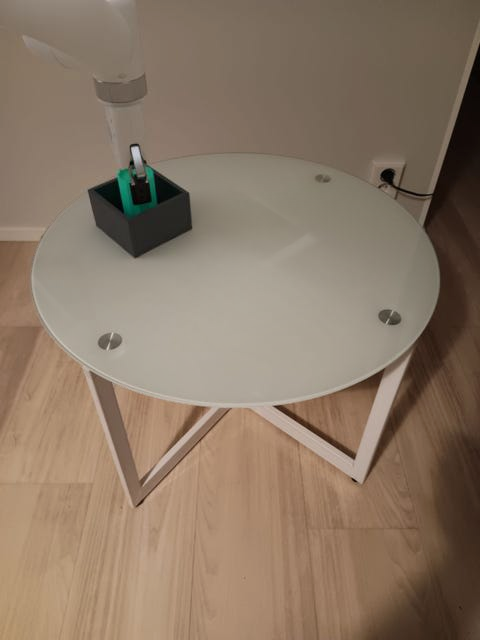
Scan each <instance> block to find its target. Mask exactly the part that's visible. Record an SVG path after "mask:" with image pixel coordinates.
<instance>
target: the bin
mask: <svg viewBox="0 0 480 640" xmlns="http://www.w3.org/2000/svg"><path fill="white" fill-rule="evenodd" d="M145 166H146V165H145ZM147 167H149V168H151V170H152V171H153V175H154V182H155V190H156V197H157V205H156V206H154V207H151V208H149V209H147V210H145V211H143V212H141V213H139V214H136V215H134V216H132V217H130V218H129V217H127V216H126V215H125V214H124V209H123V204H122V198H121V193H120V188H119V183H118V178H117V176H116V177H114V178H112V179H110V180H107V181H104V182H102V183H99V184H97V185H95V186H93V187H90V188H88V189H87V195H88V198H89V203H90V206H91V210H92V211H91V212H92V214H93V218H94V222H95V223H94V224H95V226H96V227H97V228H98V229H99V230H101V231H102V232H103V233H104V234H105V235H107V237H109V238H110V239H111V240H112V241H114V242H115V243H116V244H117V245H118V246H119V247H120V248H121V249H123V250H124V251H125V252H127V254H129V255H130V256H131V257H133V259H136V258H138V257H140V256H143V255H144V254H147V253H148V252H149V251H151V250H154V249H156V248H158V247H160V246H161V245H163V244H165V243H168V242H170V241H171V240H173V239H176V238H177V237H180V236H181V235H183V234H185V233H186V232H189V231H190V230H192V229H193V221H192V208H191V196H190V192H189V191H187V190H186V189H184V188H183V187H182V186H180V185H178V184H177V183H176V182H174V181H173V180H172V179H170V178H168V177H166V176H165V175H164V174H162V173H161V172H160V171H157V170H156V169H155V168H153V167H151V166H150V165H149V164H148V165H147Z"/></svg>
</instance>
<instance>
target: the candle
mask: <svg viewBox="0 0 480 640" xmlns="http://www.w3.org/2000/svg"><path fill="white" fill-rule="evenodd" d="M151 168H152V167H151ZM151 168H149V167H147V166H146V171H147V176H148V180H149V184H150V191H151V198H152V202H150V203H146V204H140V205H133V202H132V197H131V191H130V186H129V183H131V181H130V177H129V172H128V169H124V170H121V169H120V168H119V169H118V171H117V174H116V177H117V178H118V183H119V188H120V193H121V198H122V204H123V209H124V214H125V215H126V216H127V217H129V218H130V217H132V216H134V215H136V214H139V213H141V212H143V211H145V210H147V209H149V208H151V207H154V206H156V205H157V197H156V190H155V182H154V175H153V171H152V170H151ZM132 172H133V177H134V174H136V172H135V169H132Z"/></svg>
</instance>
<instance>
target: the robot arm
mask: <svg viewBox="0 0 480 640" xmlns="http://www.w3.org/2000/svg"><path fill="white" fill-rule="evenodd" d="M138 13H139V12H138V7H137V0H0V29H2V30H4V31H5V30H6V31H9V32H12V33H15V34H19V35H21V37H22V40H23V43H24V45H25V46H26V48H27V49H28V51H29V52H30V53H31V54H32V55H34V56H35V58H38V59H40V60H41V61H43V62H45V63H47V64H51V65H54V66H58V67H61V68H65V69H69V70H74V71H77V72H80V73H84V74H88V75H92V80H93V86H94V90H95V96H96V100H97V101H98V102H99V103H100V104H102V105H103V106H104V112H105V117H106V118H105V119H106V123H107V130H108V137H109V141H110V146H111V150H112V153H113V156H114V159H115V162H116V164H117V167H118V168H119V169H121V170H124V169H128V172H129V177H130V181H131V183H129V186H130V191H131V197H132V202H133V205H140V204H146V203H150V202H152V198H151V191H150V184H149V180H148V176H147V171H146V166H147V165H148V166H149V164H150V151H149V144H148V135H147V129H146V128H147V127H146V122H145V115H144V109H143V102H144V101H145V100H146V99H147V98H148V95H149V92H148V85H147V84H148V83H147V78H146V77H147V76H146V71H145V70H146V69H145V62H144V61H145V60H144V55H143V54H144V53H143V44H142V37H141V30H140V22H139V14H138ZM145 165H146V166H145ZM132 169H135V172H136V174H134V177H133V172H132Z"/></svg>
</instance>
